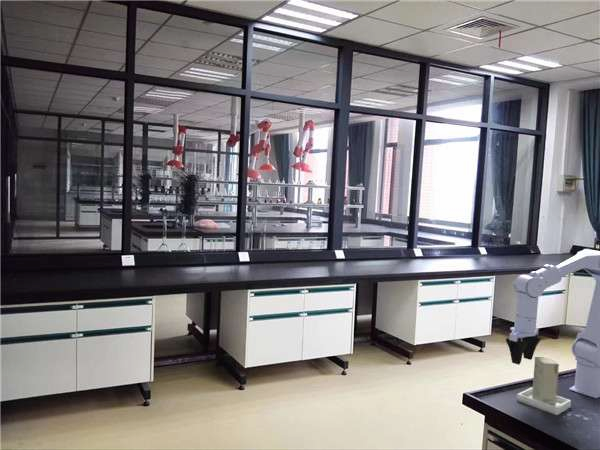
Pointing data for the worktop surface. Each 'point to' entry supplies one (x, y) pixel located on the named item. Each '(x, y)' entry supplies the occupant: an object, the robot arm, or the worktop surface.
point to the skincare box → (545, 380)
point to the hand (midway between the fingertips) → (521, 361)
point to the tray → (527, 399)
